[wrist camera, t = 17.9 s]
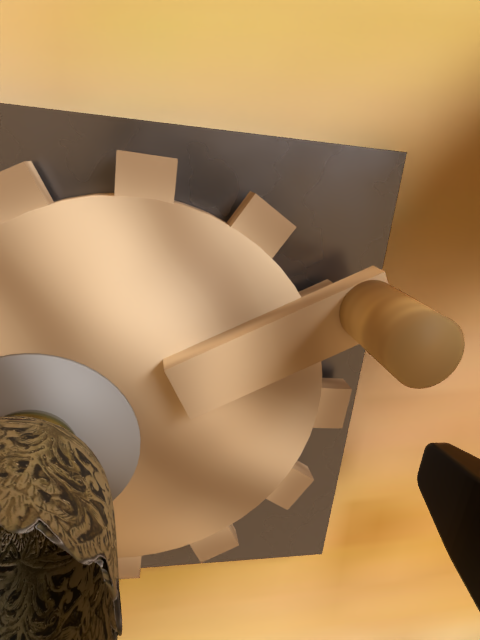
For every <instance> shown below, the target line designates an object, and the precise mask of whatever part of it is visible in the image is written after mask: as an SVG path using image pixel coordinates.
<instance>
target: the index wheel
mask: <svg viewBox="0 0 480 640" xmlns="http://www.w3.org/2000/svg"><path fill="white" fill-rule="evenodd" d="M177 163H178V159H176V158H169V157H162V156H156V155H149V154H142V153H135V152H129V151H122V150H117V151H116V172H115V192H114V193H94V194H88V195H82V196H75V197H69V198H65V199H61V200H58V201H55V202H54V201H53V199H52V198H51V196H50V194H49V192H48V190H47V189H46V187H45V185H44V183H43V181H42V179H41V178H40V176H39V174H38V172H37V170H36V169H35V167H34V165H33V163H32V161H25V162H21V163H19V164H17V165H14V166H12V167H10V168H7V169H5V170H3V171H0V417H2V416H5V415H7V414H10V413H12V412H16V411H20V410H41V411H45V412H49V413H52V414H54V415H56V416H58V417H60V418H61V419H63V420H64V421H65V422H66V423H67V424H68V425H69V426H70V427H71V428H72V430H73V431H74V433H75V435H76V436H77V437H78V438H80V439H81V440H82V441H83V442H84V443H85V444H86V445H87V446H88V447H89V448H90V449H91V450H92V451H93V453H94V454H95V456H96V457H97V459H98V460H99V462H100V464H101V466H102V467H103V469H104V471H105V474H106V477H107V480H108V483H109V486H110V490H111V495H112V501H113V506H114V515H115V525H116V539H117V555H118V573H119V579H129V578H140V568H141V557H142V556H143V555H150V554H156V553H161V552H165V551H168V550H172V549H176V548H180V547H183V546H186V545H190V546H191V548H192V549H193V551H194V553H195V554H196V556H197V557H198V559H199V561H200V562H201V563H202V562H204V561H206V560H208V559H211V558H213V557H215V556H217V555H219V554H221V553H224V552H226V551H228V550H230V549H232V548H234V547H237V546H239V543H238V538H237V534H236V529H235V528H234V526H233V523H234V522H236V521H238V520H239V519H241V518H242V517H244V516H245V515H246V514H248V513H249V512H250V511H252V510H253V509H254V508H256V507H257V506H258V505H259V504H260V503H261V502H262V501H264V500H265V499H267V500H269V501H271V502H273V503H275V504H277V505H279V506H281V507H283V508H285V509H287V510H288V509H289V508H290V507H291V506H292V505H293V503H294V502H295V501H296V500H297V499H298V498H299V497H300V496H301V494H302V493H303V492H304V491H305V490H306V489H307V488H308V487H309V485H310V484H311V483H312V482H313V481H314V478H313V476H312V474H311V472H310V470H309V468H308V466H306V465H304V464H303V463H301V462H299V461H297V460H298V458H299V457H300V455H301V453H302V451H303V449H304V447H305V445H306V443H307V441H308V439H309V437H310V434H311V431H312V428H342V427H343V423H344V419H345V415H346V411H347V407H348V403H349V399H350V395H351V391H352V389H351V388H350V386H349V385H348V384H347V383H346V382H345V380H344V379H340V378H322V365H321V361H323V360H325V359H327V358H329V357H332V356H334V355H336V354H338V353H340V352H343V351H345V350H347V349H349V348H352V347H354V346H356V345H358V344H360V345H361V346H362V347H363V348H364V349H365V350H366V351H367V352H368V353H369V354H370V355H372V356H373V357H374V358H375V359H376V360H377V361H378V362H379V363H380V364H381V365H382V366H383V367H384V368H385V369H387V370H388V371H389V372H390V373H391V374H392V375H393V376H394V377H395V378H396V379H397V380H398V381H399V382H401V383H402V384H403V385H405V386H407V387H411V388H418V389H421V388H427V387H431V386H434V385H436V384H438V383H440V382H442V381H443V380H445V379H446V378H447V377H448V376H449V375H450V374H451V373H452V372H453V371H454V370H455V369H456V367H457V366H458V364H459V362H460V360H461V358H462V355H463V352H464V336H463V333H462V330H461V329H460V327H459V326H458V325H457V323H455V322H454V321H453V320H451V319H449V318H448V317H446V316H444V315H442V314H441V313H439V312H437V311H435V310H433V309H432V308H430V307H428V306H426V305H425V304H423V303H421V302H419V301H417V300H416V299H414V298H412V297H410V296H409V295H407V294H405V293H403V292H402V291H400V290H398V289H396V288H394V287H393V286H391V285H389V284H388V280H387V277H386V273H385V271H383V270H381V269H379V268H377V267H375V266H371V267H368V268H366V269H364V270H362V271H359V272H357V273H355V274H353V275H350V276H348V277H346V278H344V279H341V280H339V281H337V282H335V283H332V282H331V281H330V280H328V279H326V280H324V281H322V282H320V283H317V284H315V285H313V286H311V287H308V288H306V289H304V290H302V291H299V292H298V291H297V289H296V287H295V286H294V284H293V283H292V282H291V280H290V279H289V278H288V277H287V275H286V274H285V273H284V271H283V270H282V269H281V267H280V266H279V265H278V264H277V263H276V262H275V261H274V260H273V259H272V258H273V257H274V256H275V254H276V253H277V252H278V250H279V249H280V248H281V247H282V245H283V244H284V243H285V241H286V240H287V239H288V238H289V236H290V235H291V234H292V232H293V231H294V230H295V229H296V226H295V225H293V224H292V223H291V222H290V221H289V220H287V219H286V218H285V217H284V216H283V215H281V214H280V213H279V212H278V211H277V210H275V209H274V208H273V207H272V206H270V205H269V204H268V203H267V202H266V201H264V200H263V199H262V198H261V197H260V196H258V195H257V194H256V193H254V192H251V191H250V192H249V193H248V194H247V196H246V197H245V198H244V200H243V201H242V203H241V204H240V205H239V207H238V208H237V209H236V211H235V212H234V213H233V215H232V216H231V217H230V219H229V220H228V221H227V222H225V221H223V220H221V219H220V218H218V217H216V216H214V215H212V214H211V213H209V212H206V211H204V210H201V209H199V208H196V207H193V206H191V205H188V204H186V203H183V202H179V201H175V200H174V196H175V185H176V174H177Z"/></svg>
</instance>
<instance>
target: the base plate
mask: <svg viewBox="0 0 480 640" xmlns="http://www.w3.org/2000/svg"><path fill="white" fill-rule="evenodd" d="M117 150H122V151H129V152H135V153H142V154H149V155H156V156H162V157H169V158H176V159H178V163H177V174H176V185H175V196H174V200H175V201H179V202H183V203H186V204H188V205H191V206H193V207H196V208H199V209H201V210H204V211H206V212H209V213H211V214H212V215H214V216H216V217H218V218H220V219H221V220H223V221H225V222H227V221H228V220H229V219H230V217H231V216H232V215H233V213H234V212H235V211H236V209H237V208H238V207H239V205H240V204H241V203H242V201H243V200H244V198H245V197H246V196H247V194H248V193H249V192H250V191H251V192H254V193H256V194H257V195H258V196H260V197H261V198H262V199H263V200H264V201H266V202H267V203H268V204H269V205H270V206H272V207H273V208H274V209H275V210H277V211H278V212H279V213H280V214H281V215H283V216H284V217H285V218H286V219H287V220H289V221H290V222H291V223H292V224H293V225H295V226H296V229H295V230H294V231H293V232H292V234H291V235H290V236H289V238H288V239H287V240H286V241H285V243H284V244H283V245H282V247H281V248H280V249H279V250H278V252H277V253H276V254H275V256H274V257H273V258H272V259H273V260H274V261H275V262H276V263H277V264H278V265H279V266H280V267H281V269H282V270H283V271H284V273H285V274H286V275H287V277H288V278H289V279H290V280H291V282H292V283H293V284H294V286H295V287H296V289H297V291H298V292H299V291H302V290H304V289H306V288H308V287H311V286H313V285H315V284H317V283H320V282H322V281H324V280H326V279H328V280H330V281H331V282H332V283H335V282H337V281H339V280H341V279H344V278H346V277H348V276H350V275H353V274H355V273H357V272H359V271H362V270H364V269H366V268H368V267H371V266H375V267H377V268H379V269H381V270H382V267H383V263H384V258H385V253H386V248H387V244H388V239H389V234H390V230H391V225H392V220H393V215H394V211H395V206H396V201H397V196H398V192H399V187H400V182H401V178H402V173H403V168H404V163H405V159H406V154H407V152H399V151H391V150H383V149H374V148H366V147H358V146H350V145H342V144H333V143H325V142H317V141H309V140H300V139H292V138H284V137H276V136H267V135H259V134H251V133H243V132H234V131H226V130H218V129H210V128H201V127H193V126H185V125H177V124H169V123H160V122H152V121H144V120H136V119H127V118H119V117H111V116H103V115H94V114H86V113H78V112H70V111H61V110H53V109H45V108H37V107H29V106H20V105H12V104H4V103H0V171H3V170H5V169H7V168H10V167H12V166H14V165H17V164H19V163H21V162H25V161H32V163H33V165H34V167H35V169H36V170H37V172H38V174H39V176H40V178H41V179H42V181H43V183H44V185H45V187H46V189H47V190H48V192H49V194H50V196H51V198H52V199H53V201H54V202H55V201H58V200H61V199H65V198H69V197H75V196H82V195H88V194H94V193H114V192H115V172H116V151H117ZM364 352H365V349H364V348H363V347H362V346H361V345H360V344H358V345H356V346H354V347H352V348H349V349H347V350H345V351H343V352H340V353H338V354H336V355H334V356H332V357H329V358H327V359H325V360H323V361H321V365H322V378H340V379H344V380H345V382H346V383H347V384H348V385H349V386H350V388H351V389H352V391H351V395H350V399H349V403H348V407H347V411H346V415H345V419H344V423H343V427H342V428H312V431H311V434H310V437H309V439H308V441H307V443H306V445H305V447H304V449H303V451H302V453H301V455H300V457H299V458H298V460H297V461H299V462H301V463H303V464H304V465H306V466H308V468H309V470H310V472H311V474H312V476H313V478H314V481H313V482H312V483H311V484H310V485H309V487H308V488H307V489H306V490H305V491H304V492H303V493H302V494H301V496H300V497H299V498H298V499H297V500H296V501H295V502H294V503H293V505H292V506H291V507H290V508H289V509H288V510H287V509H285V508H283V507H281V506H279V505H277V504H275V503H273V502H271V501H269V500H267V499H265V500H264V501H262V502H261V503H260V504H259V505H258V506H257V507H256V508H254V509H253V510H252V511H250V512H249V513H248V514H246V515H245V516H244V517H242V518H241V519H239V520H238V521H236V522H234V523H233V526H234V528H235V529H236V534H237V538H238V543H239V546H237V547H234V548H232V549H230V550H228V551H226V552H224V553H221V554H219V555H217V556H215V557H213V558H211V559H208V560H206V561H204V562H202V563H211V562H224V561H237V560H249V559H262V558H275V557H288V556H301V555H314V554H322V551H323V546H324V541H325V537H326V532H327V527H328V522H329V518H330V513H331V508H332V504H333V499H334V494H335V489H336V485H337V480H338V475H339V470H340V466H341V461H342V456H343V452H344V447H345V442H346V437H347V433H348V428H349V423H350V419H351V414H352V409H353V404H354V400H355V395H356V390H357V385H358V381H359V376H360V371H361V367H362V362H363V357H364ZM198 563H201V562H200V561H199V559H198V557H197V556H196V554H195V553H194V551H193V549H192V548H191V546H190V545H186V546H183V547H180V548H176V549H172V550H168V551H165V552H161V553H156V554H150V555H143V556H142V557H141V568H146V567H159V566H172V565H185V564H198Z"/></svg>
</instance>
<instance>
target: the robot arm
mask: <svg viewBox="0 0 480 640" xmlns="http://www.w3.org/2000/svg"><path fill="white" fill-rule="evenodd" d="M417 481H418V486H419V489H420V491H421V493H422V496H423V498H424V500H425V502H426V505H427V507H428V509H429V512H430V514H431V516H432V518H433V521H434V523H435V525H436V528H437V530H438V532H439V535H440V537H441V539H442V541H443V544H444V546H445V548H446V550H447V552H448V554H449V556H450V558H451V560H452V562H453V564H454V566H455V568H456V570H457V572H458V573H459V575H460V577H461V579H462V581H463V582H464V584H465V586H466V588H467V590H468V591H469V593H470V595H471V597H472V599H473V601H474V602H475V604H476V606H477V608H478V610H479V611H480V459H479V458H477V457H475V456H473V455H471V454H469V453H467V452H465V451H463V450H461V449H459V448H457V447H455V446H453V445H451V444H449V443H430V444H428V445H427V446H426V447H425V450H424V454H423V457H422V461H421V464H420V468H419V471H418V475H417Z"/></svg>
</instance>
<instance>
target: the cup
mask: <svg viewBox="0 0 480 640" xmlns="http://www.w3.org/2000/svg"><path fill="white" fill-rule="evenodd" d="M118 634H119V636H121V634H122V615H121V602H120V592H119V573H118V555H117V539H116V525H115V515H114V506H113V501H112V495H111V490H110V486H109V483H108V480H107V477H106V474H105V471H104V469H103V467H102V466H101V464H100V462H99V460H98V459H97V457H96V456H95V454H94V453H93V451H92V450H91V449H90V448H89V447H88V446H87V445H86V444H85V443H84V442H83V441H82V440H81V439H80V438H78V437H77V436H76V435H75V433H74V431H73V430H72V428H71V427H70V426H69V425H68V424H67V423H66V422H65V421H64V420H63V419H61V418H60V417H58V416H56V415H54V414H52V413H49V412H45V411H41V410H20V411H16V412H12V413H10V414H7V415H5V416H2V417H0V640H117V636H118Z"/></svg>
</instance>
